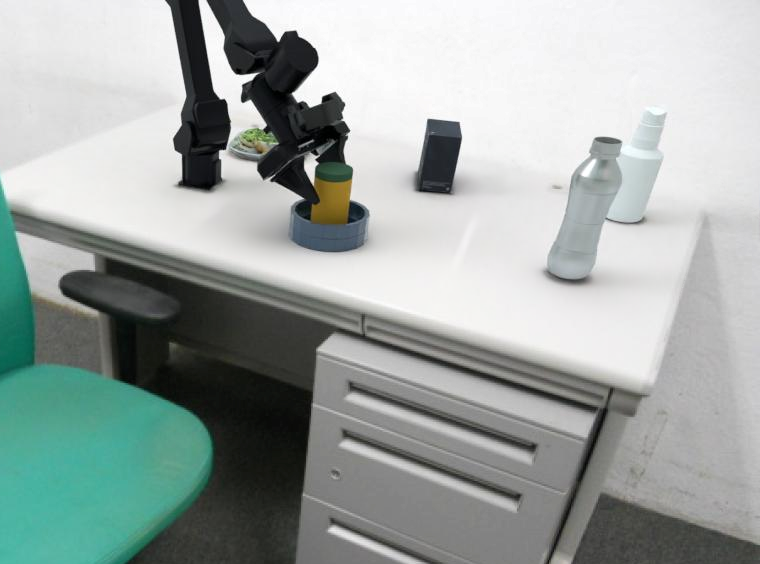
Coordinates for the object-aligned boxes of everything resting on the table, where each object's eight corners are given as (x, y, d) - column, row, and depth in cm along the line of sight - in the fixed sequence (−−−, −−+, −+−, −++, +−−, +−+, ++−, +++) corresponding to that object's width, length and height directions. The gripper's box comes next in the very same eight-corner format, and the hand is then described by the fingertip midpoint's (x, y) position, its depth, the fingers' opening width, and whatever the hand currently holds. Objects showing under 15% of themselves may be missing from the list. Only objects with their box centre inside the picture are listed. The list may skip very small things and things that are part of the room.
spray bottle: (640, 211, 137) (676, 106, 126) (643, 225, 131) (682, 117, 121) (598, 206, 138) (631, 102, 128) (600, 220, 133) (635, 112, 122)
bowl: (277, 247, 122) (279, 217, 119) (303, 220, 131) (305, 191, 128) (353, 262, 118) (357, 231, 115) (374, 233, 127) (378, 203, 124)
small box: (452, 194, 142) (464, 136, 136) (417, 191, 143) (426, 133, 137) (450, 175, 151) (461, 120, 144) (416, 172, 152) (426, 117, 145)
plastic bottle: (536, 266, 118) (572, 133, 106) (578, 265, 118) (619, 133, 107) (554, 285, 113) (595, 148, 101) (598, 284, 113) (644, 147, 101)
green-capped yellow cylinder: (304, 238, 123) (310, 171, 117) (316, 226, 127) (322, 159, 121) (339, 245, 121) (347, 176, 115) (349, 232, 125) (357, 165, 119)
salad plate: (302, 172, 151) (304, 148, 148) (216, 161, 155) (216, 138, 152) (322, 143, 166) (324, 121, 163) (243, 134, 170) (244, 113, 167)
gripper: (277, 88, 107) (338, 183, 108) (346, 65, 119) (400, 151, 120) (231, 134, 115) (287, 223, 116) (299, 109, 127) (350, 189, 128)
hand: (333, 195), depth 120 cm, fingers open, 9 cm apart
